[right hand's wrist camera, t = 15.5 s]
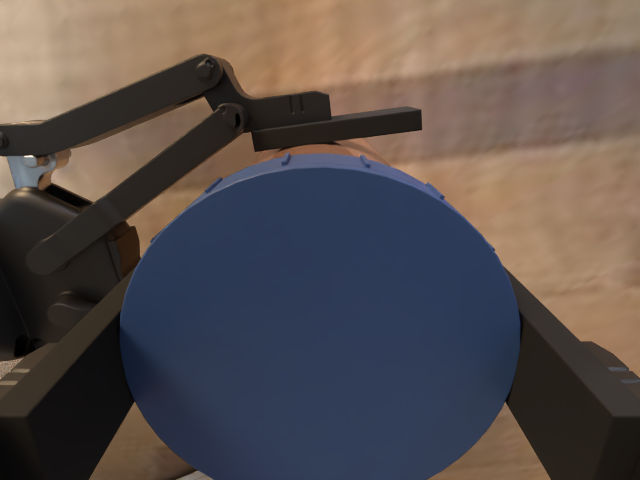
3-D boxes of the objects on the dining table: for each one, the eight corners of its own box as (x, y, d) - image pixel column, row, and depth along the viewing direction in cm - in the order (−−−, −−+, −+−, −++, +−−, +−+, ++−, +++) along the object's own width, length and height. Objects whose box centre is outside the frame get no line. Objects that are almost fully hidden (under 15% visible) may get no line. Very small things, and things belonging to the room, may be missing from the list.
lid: (465, 458, 14) (486, 511, 12) (165, 452, 14) (143, 505, 12) (525, 158, 11) (567, 172, 9) (123, 147, 10) (83, 159, 9)
